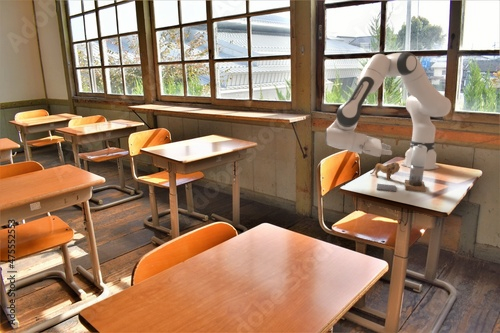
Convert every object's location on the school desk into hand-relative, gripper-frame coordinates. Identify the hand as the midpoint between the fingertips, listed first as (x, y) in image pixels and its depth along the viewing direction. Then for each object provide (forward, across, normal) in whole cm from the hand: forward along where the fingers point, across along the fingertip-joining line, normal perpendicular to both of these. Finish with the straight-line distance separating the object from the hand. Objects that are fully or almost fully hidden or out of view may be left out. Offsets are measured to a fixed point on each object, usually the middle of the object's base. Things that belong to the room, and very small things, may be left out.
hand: (391, 150), depth 170 cm
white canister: (+12, -1, +4) cm, 13 cm away
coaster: (+2, -4, +16) cm, 17 cm away
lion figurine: (+2, +13, +17) cm, 22 cm away
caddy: (+14, 0, +14) cm, 20 cm away
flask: (+14, -1, +12) cm, 19 cm away
